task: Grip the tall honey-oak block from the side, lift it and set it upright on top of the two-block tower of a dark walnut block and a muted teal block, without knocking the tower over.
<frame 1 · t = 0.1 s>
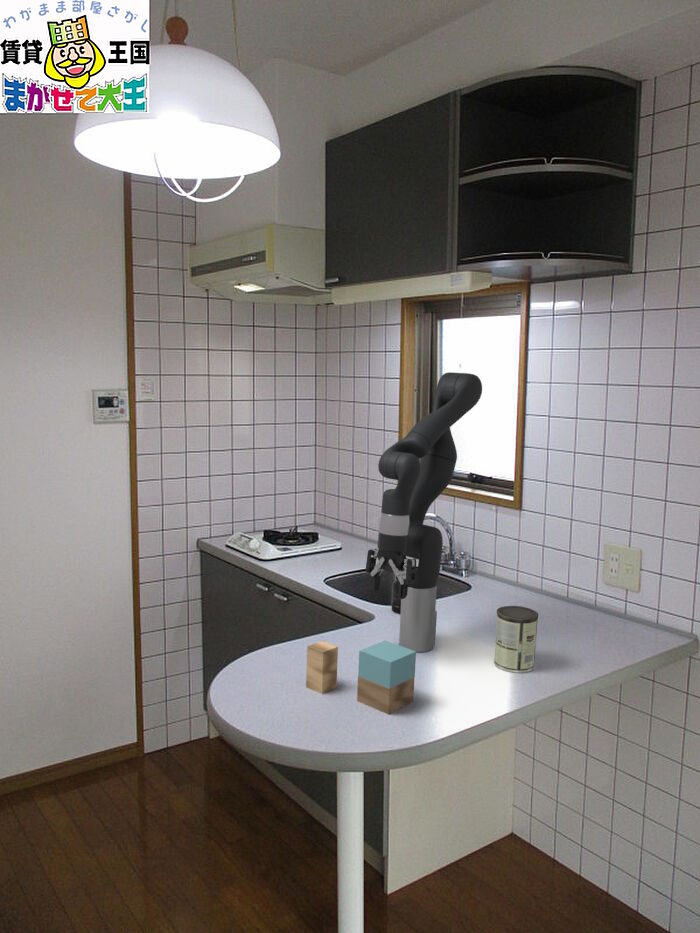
hand: (388, 594, 196), 17 cm above the counter, fingers open, 8 cm apart
supplement bottle: (402, 611, 237), on the counter
coffee can: (513, 665, 199), on the counter
walnut base block: (385, 701, 175), on the counter, touching teal top block
oak block: (321, 687, 181), on the counter
teal top block: (386, 676, 175), point 6 cm above the counter, touching walnut base block
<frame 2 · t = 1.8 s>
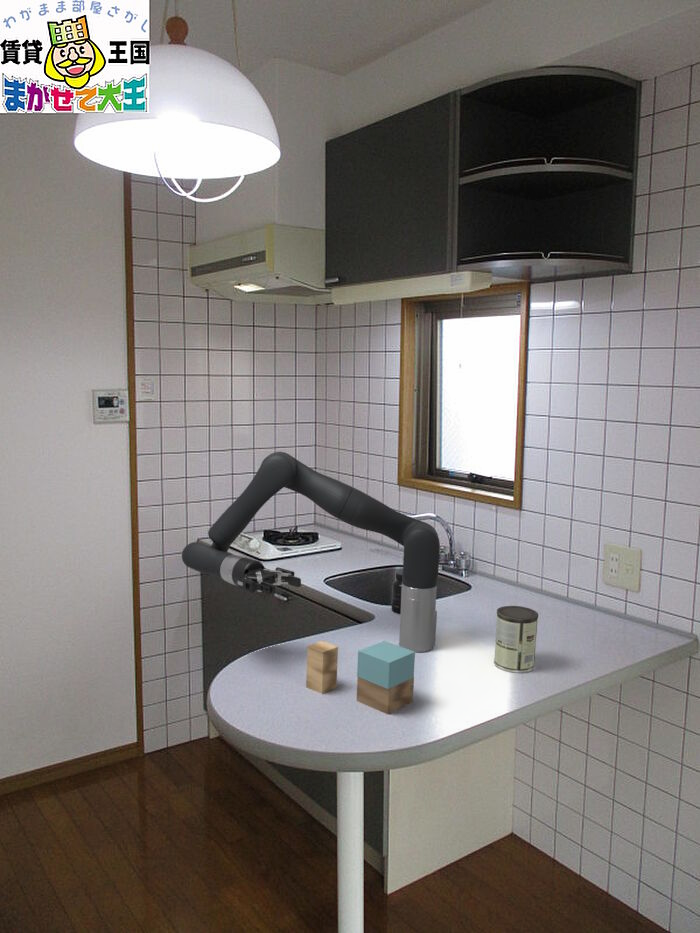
hand: (287, 586, 186), 21 cm above the counter, fingers open, 8 cm apart
nothing on the counter moved.
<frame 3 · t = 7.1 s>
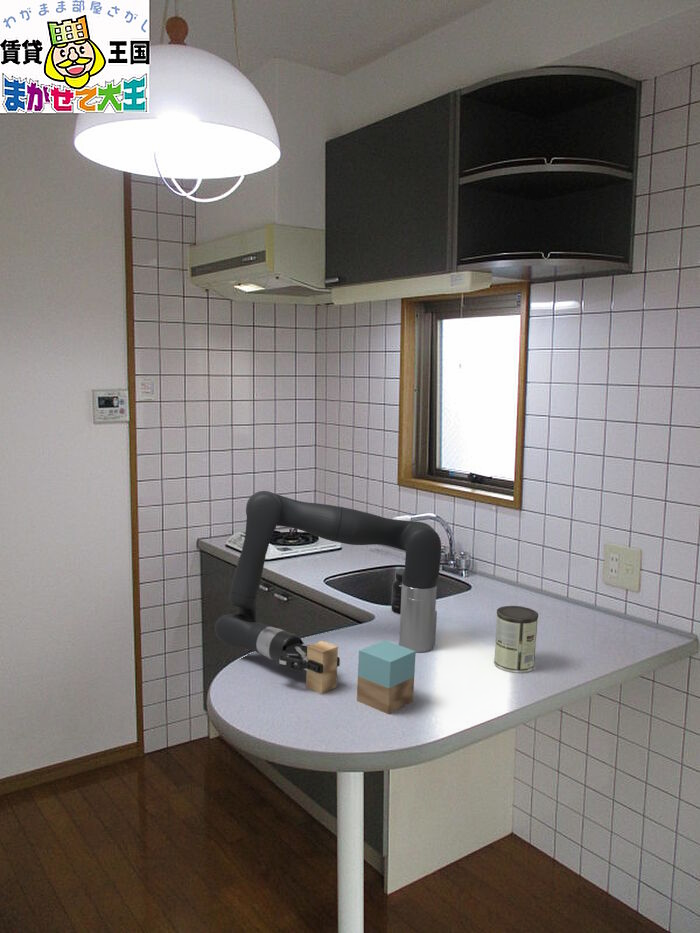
hand: (330, 665, 179), 6 cm above the counter, fingers closed on oak block, 5 cm apart
oak block: (321, 687, 181), on the counter, touching gripper
everything else where it was.
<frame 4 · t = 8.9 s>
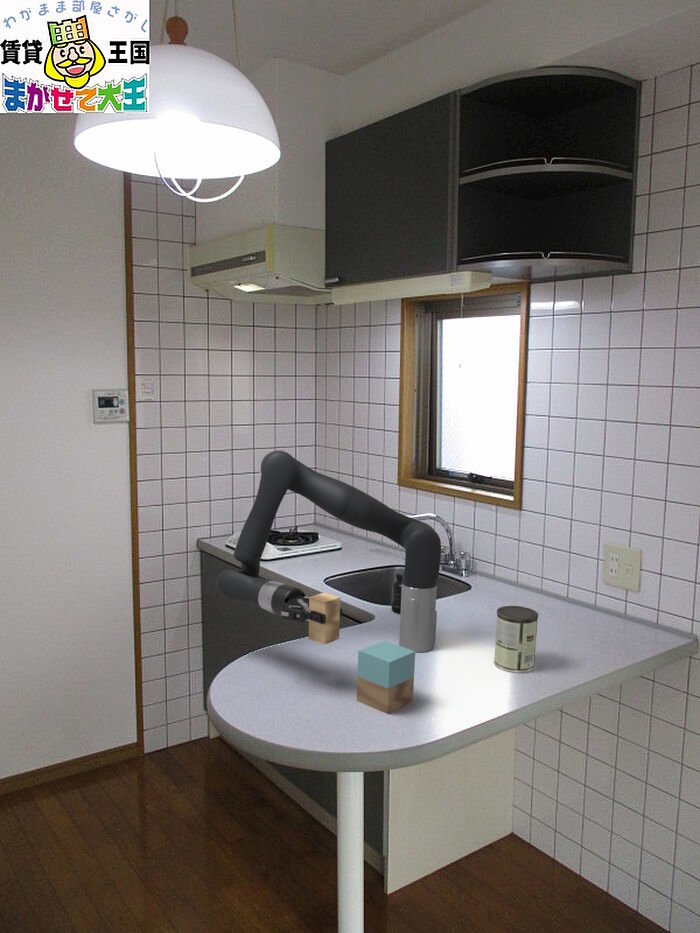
hand: (333, 616, 177), 18 cm above the counter, fingers closed on oak block, 5 cm apart
oak block: (324, 638, 180), point 12 cm above the counter, touching gripper
everything else where it was.
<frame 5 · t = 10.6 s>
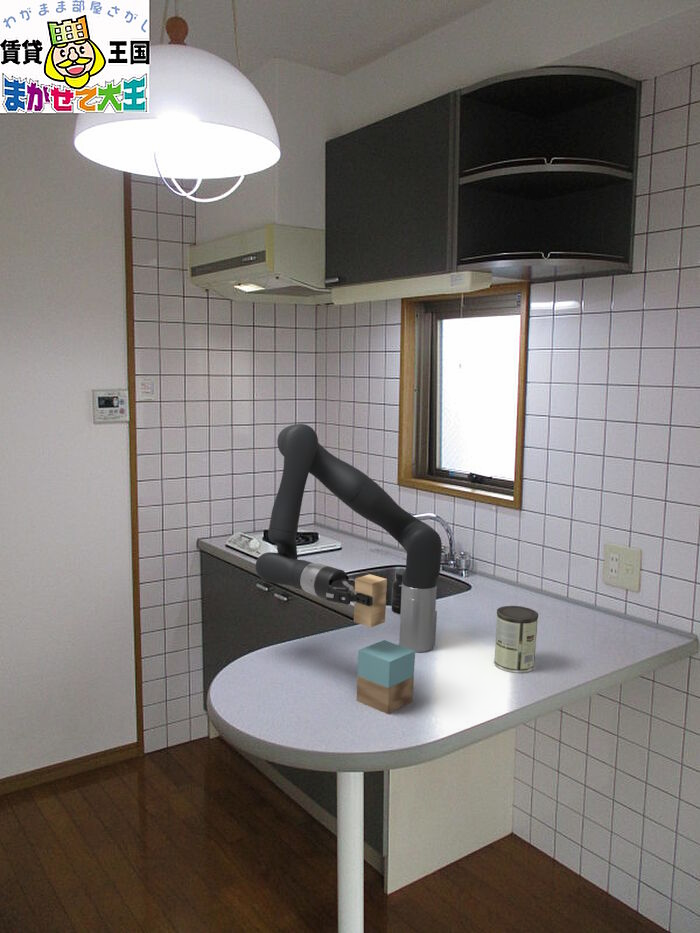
hand: (379, 598, 172), 24 cm above the counter, fingers closed on oak block, 5 cm apart
oak block: (369, 621, 175), point 18 cm above the counter, touching gripper
everything else where it was.
when the fingers open (19 cm above the counter, at t = 13.1 s): oak block stays where it is, resting on teal top block.
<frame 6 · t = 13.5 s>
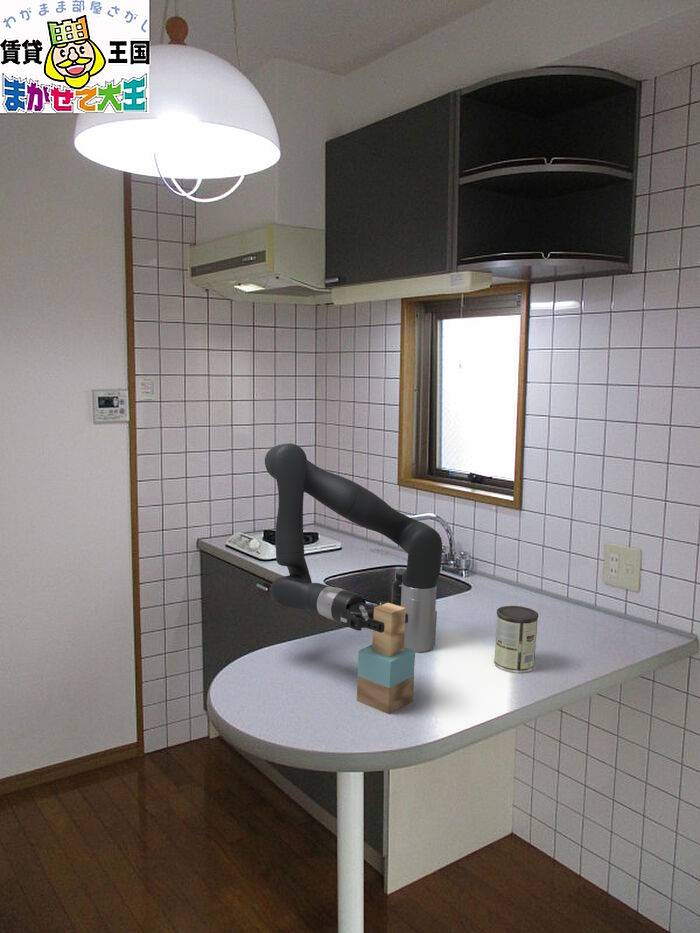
hand: (395, 623, 171), 19 cm above the counter, fingers open, 8 cm apart
oak block: (387, 650, 174), point 12 cm above the counter, touching teal top block
teal top block: (385, 676, 175), point 6 cm above the counter, touching oak block, walnut base block
everything else where it was.
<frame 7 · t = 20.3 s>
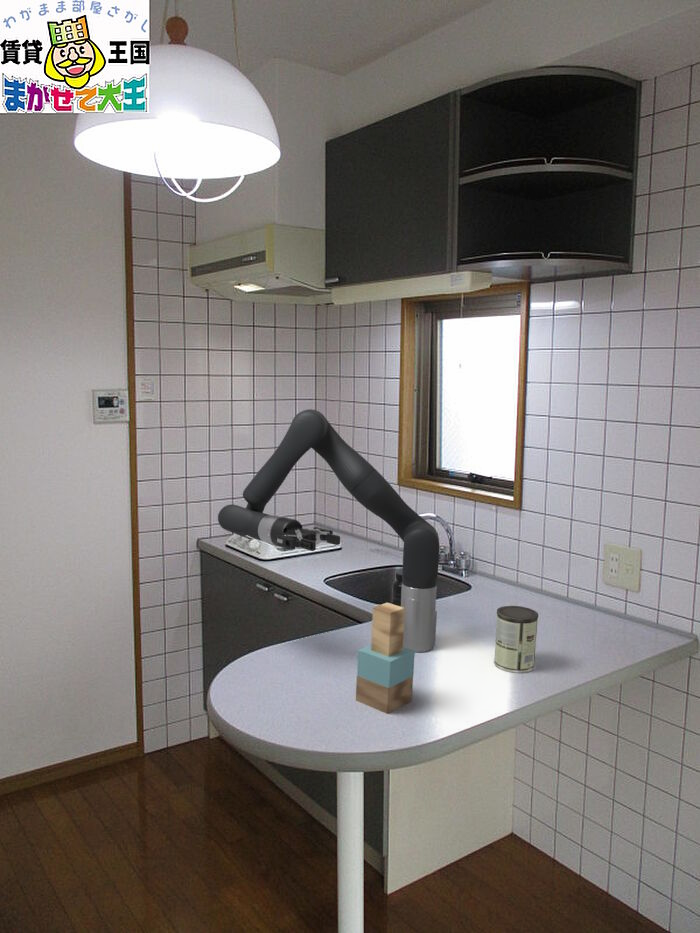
hand: (327, 543, 186), 32 cm above the counter, fingers open, 8 cm apart
nothing on the counter moved.
at the end: oak block 0.1 cm off-centre on the teal top block, point 6.0 cm above the teal top block's base; teal top block 0.1 cm off-centre on the walnut base block, point 6.0 cm above the walnut base block's base; walnut base block moved 0.5 cm from its start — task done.
